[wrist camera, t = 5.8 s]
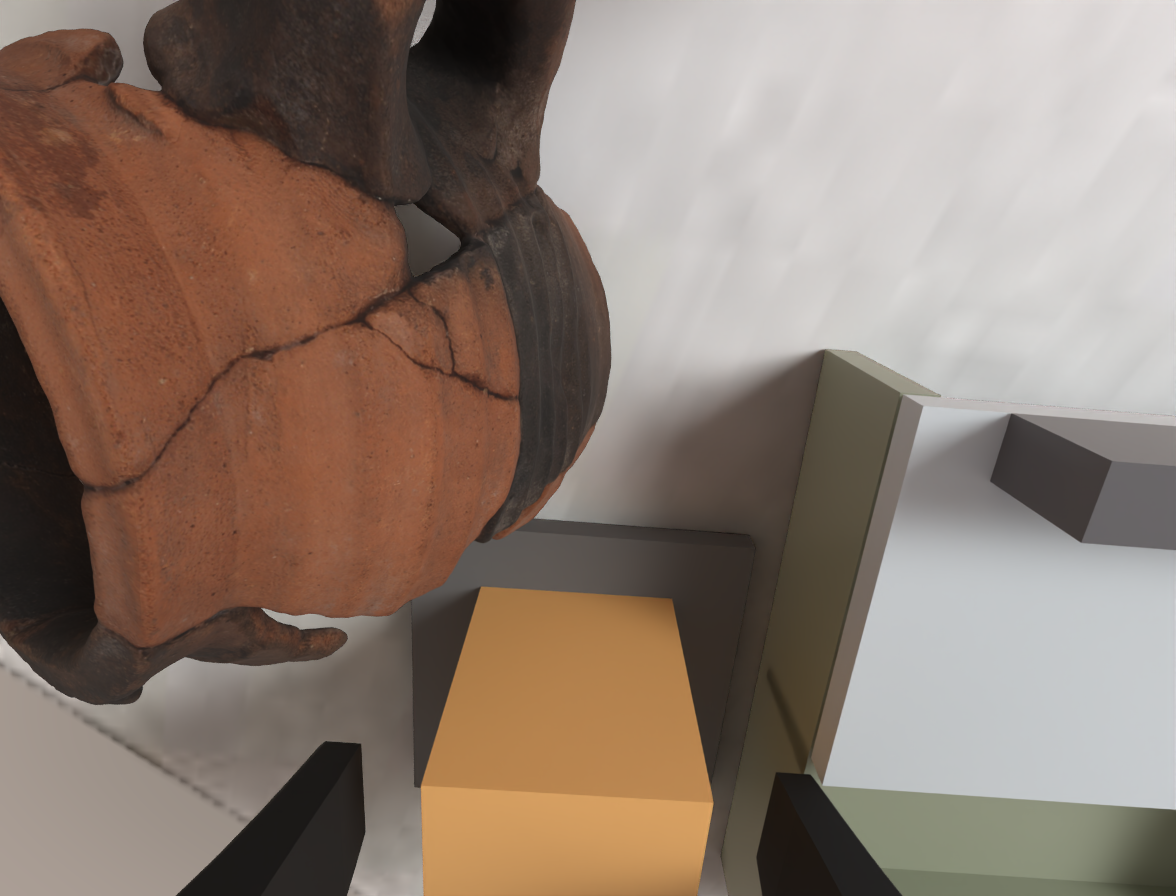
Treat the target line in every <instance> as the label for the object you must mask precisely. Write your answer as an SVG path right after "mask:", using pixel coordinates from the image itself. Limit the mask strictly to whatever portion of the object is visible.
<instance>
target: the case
mask: <svg viewBox="0 0 1176 896" xmlns="http://www.w3.org/2000/svg"><path fill="white" fill-rule="evenodd" d="M903 394H905V395H918V396H930V397H941V395H939V394H937V393H935V392H933V391H931V390H929V389H927V388H925V387H923V386H921V385H920V384H918V383H916V382H914V381H912V380H910V379H908V378H906V377H904V376H902V375H900V374H898V373H897V372H895V371H893V370H891V369H889V368H887V367H885V366H883V365H881V364H879V363H877V362H876V361H874V360H872V359H870V358H868V357H866V356H864V355H862V354H860V353H858V352H856V351H843V350H831V349H825V354H824V358H823V363H822V368H821V373H820V378H819V383H818V387H817V392H816V397H815V402H814V407H813V412H812V417H811V421H810V426H809V431H808V436H807V441H806V446H805V450H804V455H803V460H802V465H801V470H800V475H799V479H798V484H797V489H796V494H795V499H794V504H793V509H792V513H791V518H790V523H789V528H788V533H787V538H786V542H785V547H784V552H783V557H782V562H781V567H780V572H779V576H778V581H777V586H776V591H775V596H774V601H773V605H772V610H771V615H770V620H769V625H768V630H767V635H766V639H765V644H764V649H763V654H762V659H761V664H760V668H759V673H758V678H757V683H756V688H755V693H754V698H753V702H752V707H751V712H750V717H749V722H748V727H747V731H746V736H745V741H744V746H743V751H742V756H741V761H740V765H739V770H738V775H737V780H736V785H735V790H734V794H733V799H732V804H731V809H730V814H729V819H728V824H727V828H726V833H725V838H724V843H723V848H722V853H721V861H722V866H723V871H724V876H725V881H726V886H727V891H728V896H762V891H761V885H760V879H759V873H758V866H757V860H756V856H757V851H758V847H759V843H760V838H761V834H762V830H763V825H764V821H765V817H766V813H767V808H768V804H769V800H770V795H771V791H772V787H773V782H774V778H775V774H776V772H781V773H796V774H811V776H812V777H813V778H814V779H815V780H816V782H817V783H818V784H819V786H820V787H821V789H822V790H823V791H824V793H825V794H826V795H827V797H828V798H829V799H830V801H831V802H832V804H833V805H834V806H835V808H836V809H837V810H838V812H839V813H840V815H841V816H842V817H843V819H844V820H845V821H846V823H847V824H848V825H849V827H850V828H851V829H852V831H853V832H854V833H855V835H856V836H857V837H858V839H859V840H860V842H861V843H862V844H863V846H864V847H865V848H866V850H867V851H868V852H869V853H870V855H871V856H872V857H873V859H874V860H875V861H876V863H877V864H878V865H879V867H880V868H881V869H882V870H883V872H884V873H885V874H886V875H887V877H888V878H889V879H890V881H891V882H892V883H893V884H894V886H895V887H896V888H897V889H898V891H899V892H900V893H901V894H902V896H1176V810H1173V809H1158V808H1143V807H1129V806H1114V805H1099V804H1085V803H1070V802H1055V801H1041V800H1026V799H1011V798H997V797H982V796H967V795H952V794H938V793H923V792H908V791H894V790H879V789H864V788H850V787H835V786H822V784H821V781H820V779H819V776H818V774H817V771H816V769H815V766H814V764H813V761H812V759H811V756H812V752H813V748H814V744H815V740H816V736H817V732H818V728H819V724H820V721H821V717H822V713H823V709H824V705H825V701H826V697H827V693H828V689H829V685H830V681H831V677H832V673H833V669H834V665H835V661H836V657H837V654H838V650H839V646H840V642H841V638H842V634H843V630H844V626H845V622H846V618H847V614H848V610H849V606H850V602H851V598H852V594H853V591H854V587H855V583H856V579H857V575H858V571H859V567H860V563H861V559H862V555H863V551H864V547H865V543H866V539H867V535H868V531H869V527H870V524H871V520H872V516H873V512H874V508H875V504H876V500H877V496H878V492H879V488H880V484H881V480H882V476H883V472H884V468H885V464H886V460H887V457H888V453H889V449H890V445H891V441H892V437H893V433H894V429H895V425H896V421H897V417H898V413H899V409H900V405H901V401H902V397H903Z"/></svg>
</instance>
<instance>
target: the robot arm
mask: <svg viewBox="0 0 1176 896" xmlns="http://www.w3.org/2000/svg"><path fill="white" fill-rule="evenodd" d="M364 835H365V812H364V792H363V773H362V753H361V744H357V743H343V742H328V741H325V742H324V743H323V744H322V745H320V746H319V747H318V748H317V749H316V751H315V752H314V753H313V754H312V755H311V756H310V757H309V758H308V760H307V761H306V762H305V763H304V764H303V765H302V766H301V768H300V769H299V770H298V771H297V772H296V773H295V774H294V775H293V776H292V778H291V779H290V780H289V781H288V782H287V783H286V784H285V785H284V786H283V788H282V789H281V790H280V791H279V792H278V793H277V794H276V795H275V796H274V797H273V798H272V799H271V801H270V802H269V803H268V804H267V805H266V806H265V807H264V808H263V809H262V810H261V811H260V812H259V813H258V815H257V816H256V817H255V818H254V819H253V820H252V821H251V822H250V823H249V824H248V825H247V826H246V827H245V828H244V829H243V830H242V831H241V832H240V833H239V834H238V835H237V836H236V837H235V838H234V839H233V840H232V842H230V844H228V846H227V847H226V848H225V849H224V850H223V851H222V852H221V853H220V854H219V855H218V856H217V857H216V858H215V859H214V860H213V861H212V862H211V863H210V864H209V865H208V866H206V867H205V868H204V869H203V870H202V871H201V872H200V873H199V874H198V875H197V876H196V877H195V878H194V879H193V880H192V881H191V882H190V883H189V884H188V885H187V886H186V887H185V888H184V889H182V890H181V891H180V892H179V893H178V894H177V895H176V896H347V893H348V890H349V887H350V883H351V880H352V877H353V873H354V870H355V867H356V863H357V860H358V856H359V853H360V849H361V846H362V842H363V839H364ZM756 860H757V866H758V873H759V879H760V885H761V891H762V896H902V894H901V893H900V892H899V891H898V889H897V888H896V887H895V886H894V884H893V883H892V882H891V881H890V879H889V878H888V877H887V875H886V874H885V873H884V872H883V870H882V869H881V868H880V867H879V865H878V864H877V863H876V861H875V860H874V859H873V857H872V856H871V855H870V853H869V852H868V851H867V850H866V848H865V847H864V846H863V844H862V843H861V842H860V840H859V839H858V837H857V836H856V835H855V833H854V832H853V831H852V829H851V828H850V827H849V825H848V824H847V823H846V821H845V820H844V819H843V817H842V816H841V815H840V813H839V812H838V810H837V809H836V808H835V806H834V805H833V804H832V802H831V801H830V799H829V798H828V797H827V795H826V794H825V793H824V791H823V790H822V789H821V787H820V786H819V784H818V783H817V782H816V780H815V779H814V778H813V777H812V776H811V774H796V773H781V772H776V774H775V778H774V782H773V787H772V791H771V795H770V800H769V804H768V808H767V813H766V817H765V821H764V825H763V830H762V834H761V838H760V843H759V847H758V851H757V856H756Z"/></svg>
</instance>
